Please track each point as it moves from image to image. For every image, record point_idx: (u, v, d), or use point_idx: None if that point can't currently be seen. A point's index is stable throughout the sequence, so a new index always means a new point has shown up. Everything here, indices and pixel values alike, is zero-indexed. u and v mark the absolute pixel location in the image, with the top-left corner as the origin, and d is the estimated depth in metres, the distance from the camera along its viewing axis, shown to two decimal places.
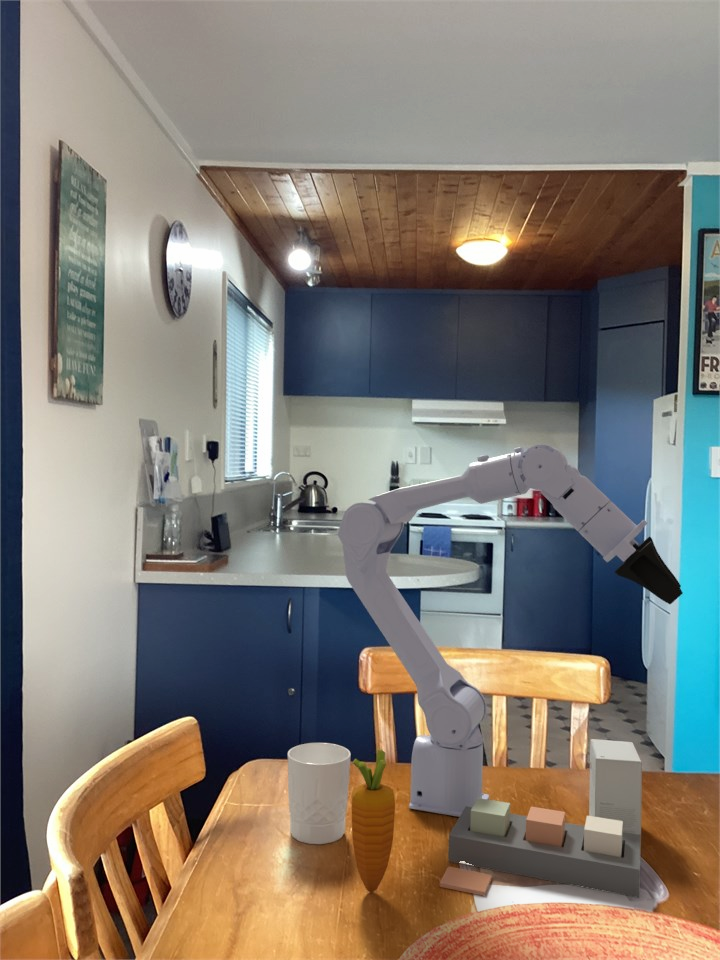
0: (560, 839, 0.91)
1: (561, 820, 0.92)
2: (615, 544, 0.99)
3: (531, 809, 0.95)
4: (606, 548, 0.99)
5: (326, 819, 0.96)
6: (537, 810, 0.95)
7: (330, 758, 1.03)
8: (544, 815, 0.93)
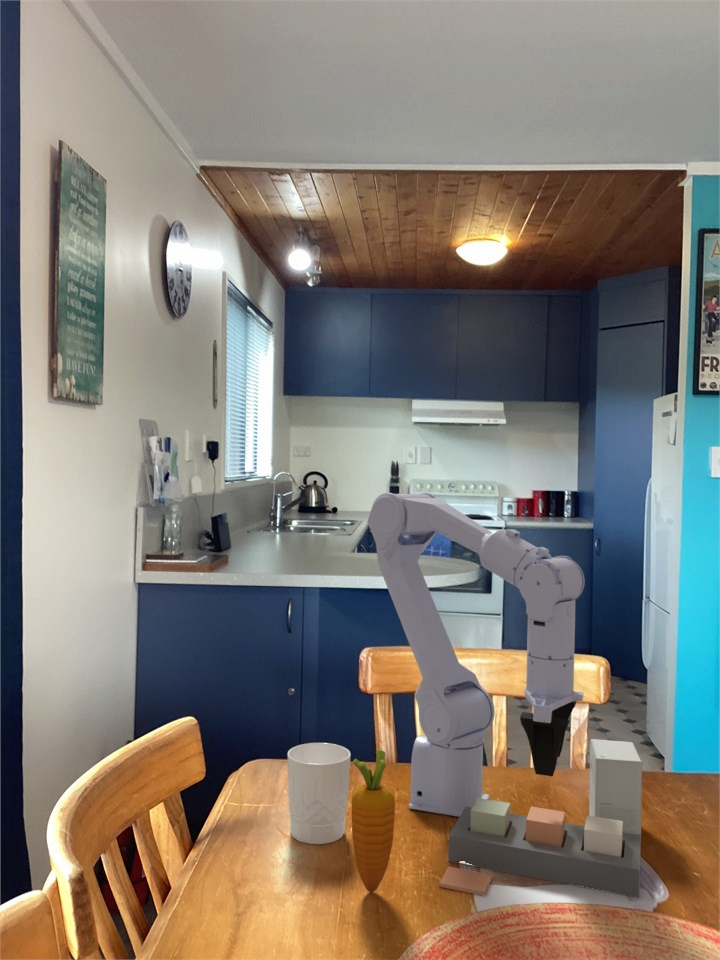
0: (560, 839, 0.91)
1: (561, 820, 0.92)
2: (542, 694, 0.96)
3: (531, 809, 0.95)
4: (534, 689, 0.97)
5: (326, 819, 0.96)
6: (537, 810, 0.95)
7: (330, 758, 1.03)
8: (544, 815, 0.93)
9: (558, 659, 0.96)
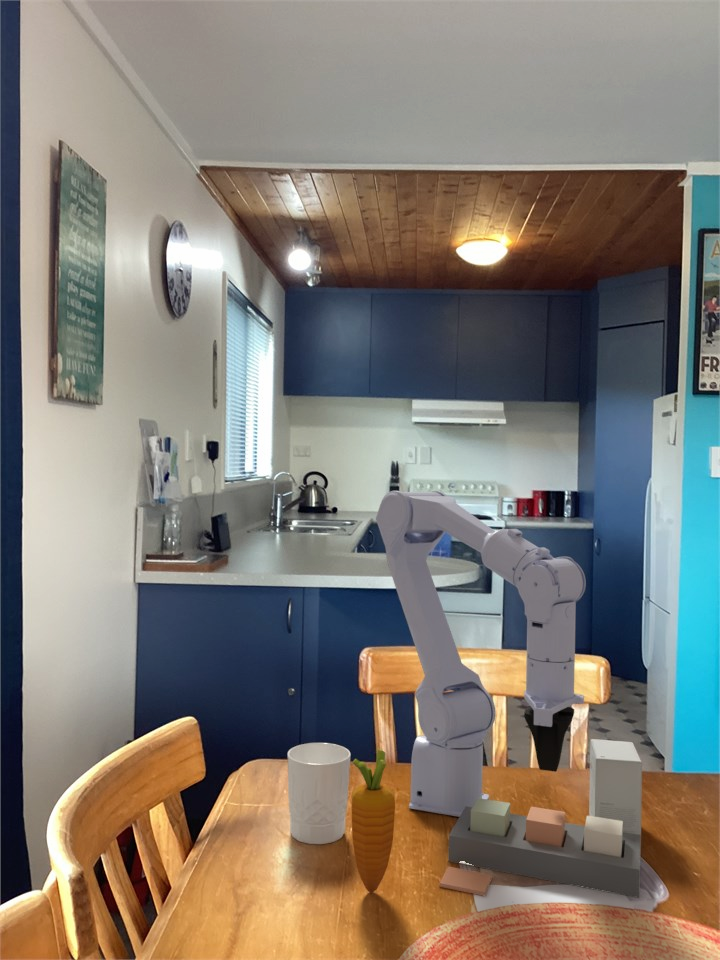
0: (560, 839, 0.91)
1: (561, 820, 0.92)
2: (542, 697, 0.95)
3: (531, 809, 0.95)
4: (534, 692, 0.95)
5: (326, 819, 0.96)
6: (537, 810, 0.95)
7: (330, 758, 1.03)
8: (544, 815, 0.93)
9: (558, 661, 0.94)
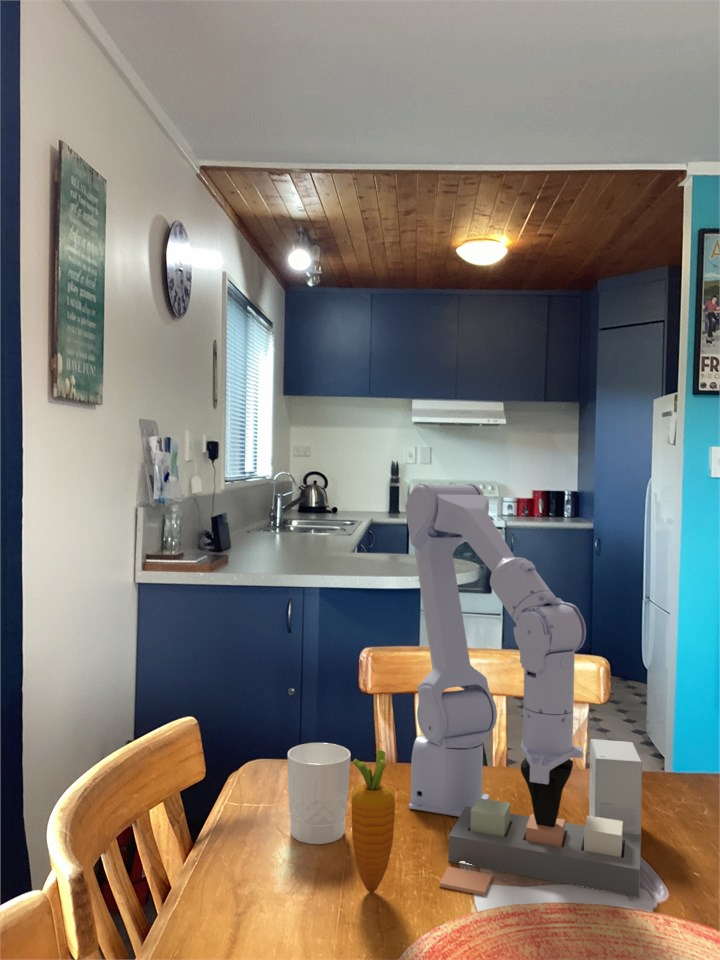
0: None
1: (561, 828, 0.92)
2: (539, 750, 0.91)
3: (531, 817, 0.95)
4: (530, 745, 0.92)
5: (326, 819, 0.96)
6: None
7: (330, 758, 1.03)
8: None
9: (556, 714, 0.90)
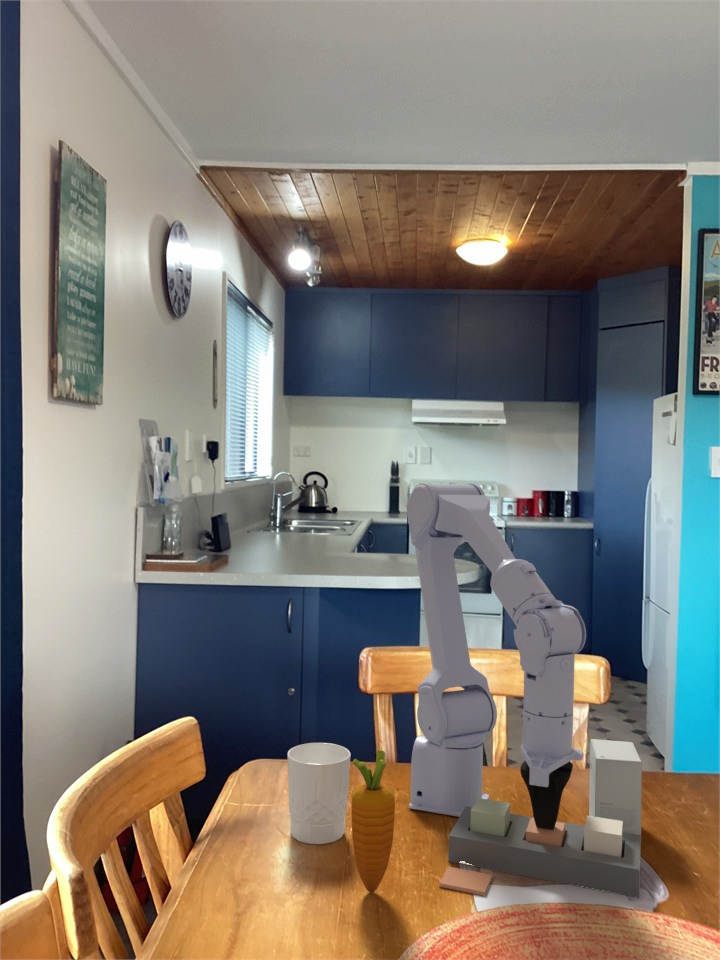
0: None
1: (561, 832, 0.92)
2: (539, 753, 0.91)
3: (531, 820, 0.95)
4: (530, 747, 0.92)
5: (326, 819, 0.96)
6: None
7: (330, 758, 1.03)
8: None
9: (556, 716, 0.90)
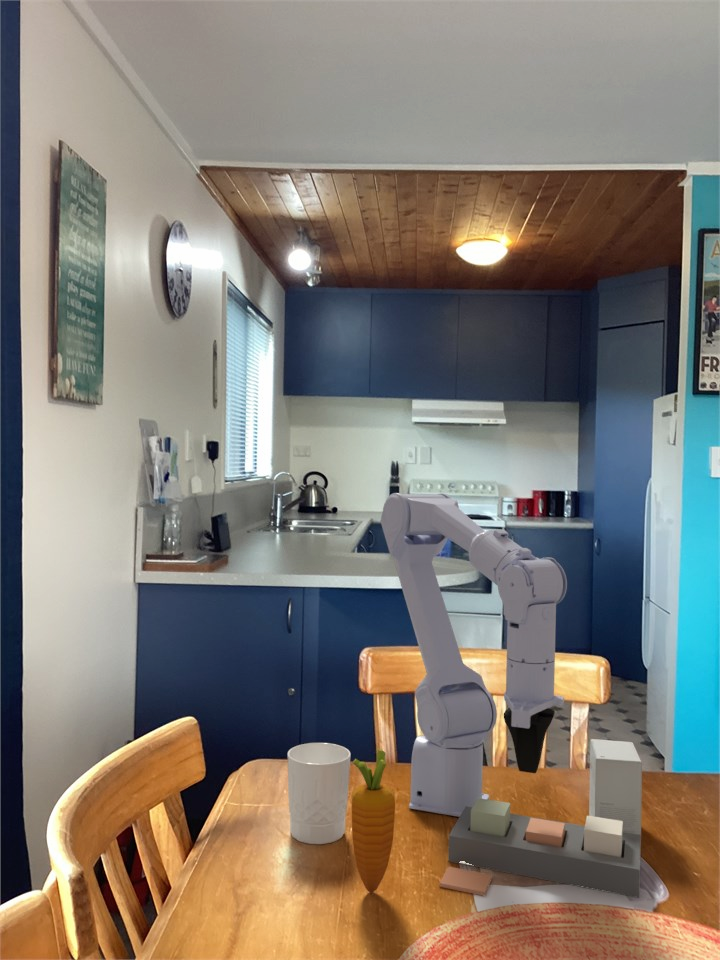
0: None
1: (561, 832, 0.92)
2: (522, 698, 0.94)
3: (531, 820, 0.95)
4: (513, 693, 0.95)
5: (326, 819, 0.96)
6: (537, 821, 0.95)
7: (330, 758, 1.03)
8: (544, 826, 0.93)
9: (538, 663, 0.94)
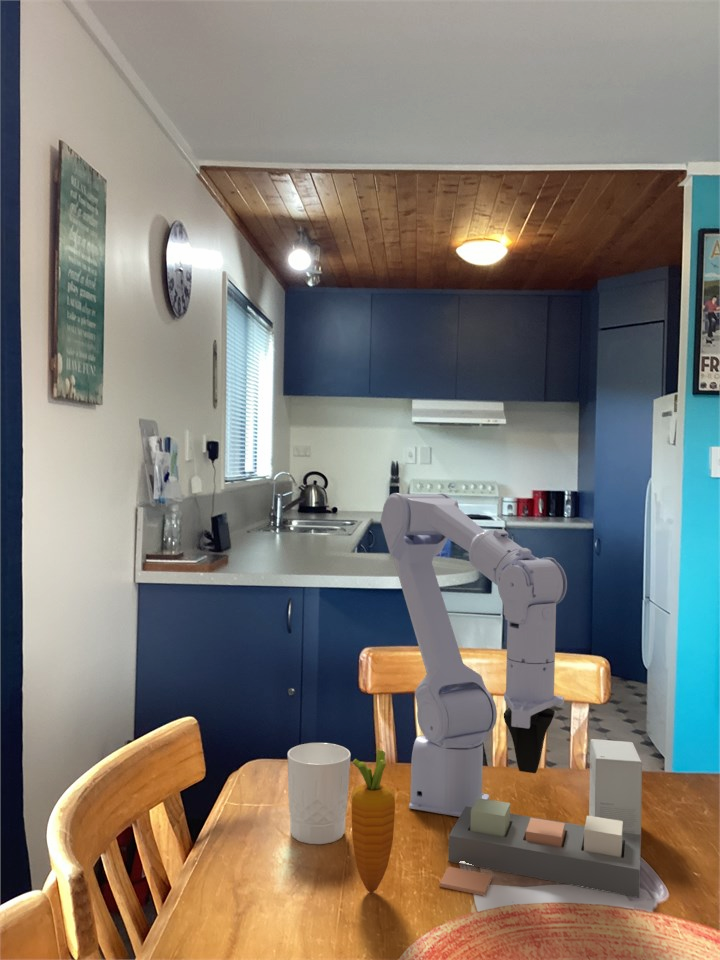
0: None
1: (561, 832, 0.92)
2: (522, 698, 0.94)
3: (531, 820, 0.95)
4: (513, 693, 0.95)
5: (326, 819, 0.96)
6: (537, 821, 0.95)
7: (330, 758, 1.03)
8: (544, 826, 0.93)
9: (538, 663, 0.94)
